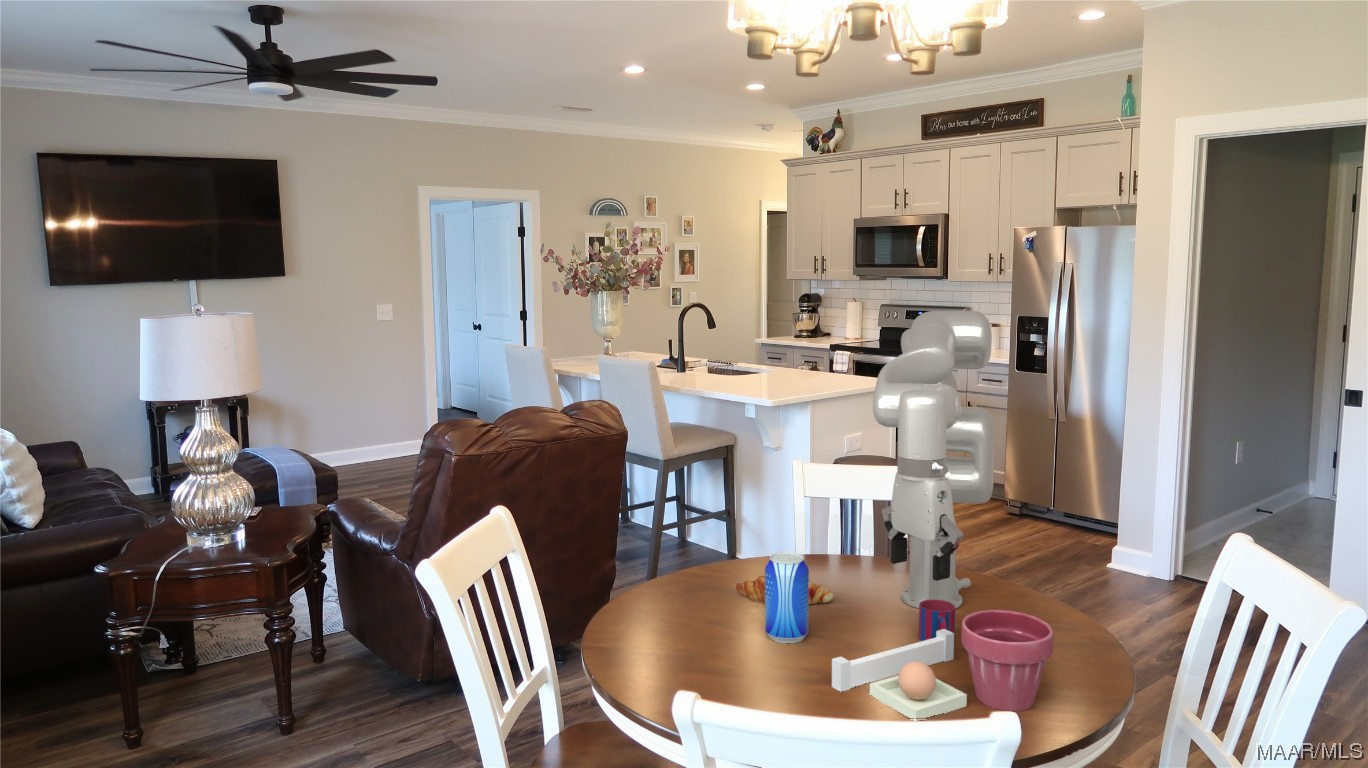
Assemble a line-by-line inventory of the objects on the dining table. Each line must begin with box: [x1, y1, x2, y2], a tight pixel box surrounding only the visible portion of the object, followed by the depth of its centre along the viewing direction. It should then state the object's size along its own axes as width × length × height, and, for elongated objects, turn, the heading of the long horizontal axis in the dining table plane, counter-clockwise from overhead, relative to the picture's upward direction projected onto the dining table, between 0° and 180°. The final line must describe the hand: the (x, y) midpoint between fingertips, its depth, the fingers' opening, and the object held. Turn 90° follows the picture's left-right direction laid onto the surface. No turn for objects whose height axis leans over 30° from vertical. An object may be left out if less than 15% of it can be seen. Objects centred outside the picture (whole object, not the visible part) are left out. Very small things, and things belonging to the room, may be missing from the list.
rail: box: [831, 629, 955, 693], centre depth 161 cm, size 26×2×5 cm, turn 119°
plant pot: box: [961, 609, 1054, 712], centre depth 150 cm, size 14×14×13 cm
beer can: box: [764, 551, 810, 644], centre depth 177 cm, size 8×8×16 cm
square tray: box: [869, 674, 968, 722], centre depth 151 cm, size 11×11×2 cm
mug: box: [918, 599, 956, 642], centre depth 174 cm, size 7×10×7 cm
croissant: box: [735, 575, 834, 605], centre depth 198 cm, size 21×10×8 cm, turn 78°
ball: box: [898, 661, 937, 700], centre depth 151 cm, size 6×6×6 cm
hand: (919, 570), depth 148 cm, fingers open, 9 cm apart
